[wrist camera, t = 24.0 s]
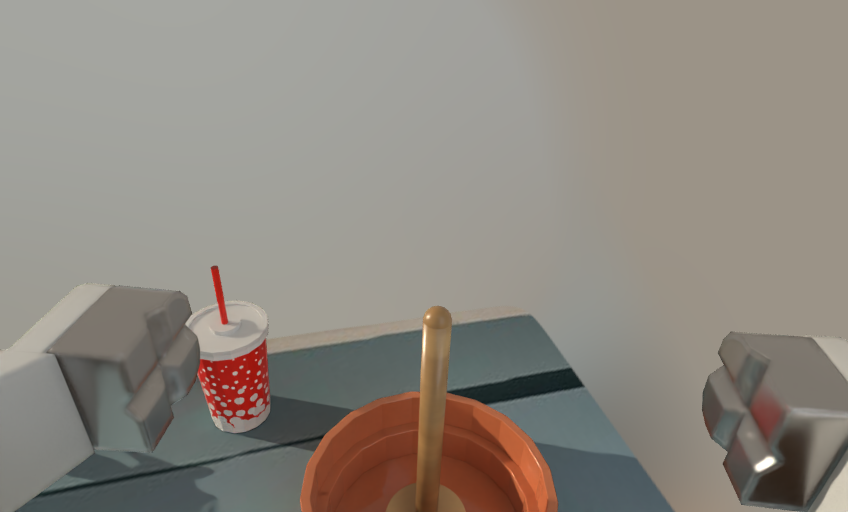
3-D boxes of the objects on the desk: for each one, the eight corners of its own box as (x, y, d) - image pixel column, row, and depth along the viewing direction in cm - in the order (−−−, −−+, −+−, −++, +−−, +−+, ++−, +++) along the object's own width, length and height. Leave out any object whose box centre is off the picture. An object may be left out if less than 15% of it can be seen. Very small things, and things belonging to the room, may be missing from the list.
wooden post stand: (461, 500, 39) (486, 279, 29) (467, 575, 34) (498, 345, 25) (386, 499, 39) (386, 277, 29) (383, 575, 34) (380, 343, 25)
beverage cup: (286, 427, 45) (266, 282, 37) (205, 450, 43) (167, 301, 35) (273, 377, 49) (253, 239, 42) (199, 395, 47) (165, 253, 40)
